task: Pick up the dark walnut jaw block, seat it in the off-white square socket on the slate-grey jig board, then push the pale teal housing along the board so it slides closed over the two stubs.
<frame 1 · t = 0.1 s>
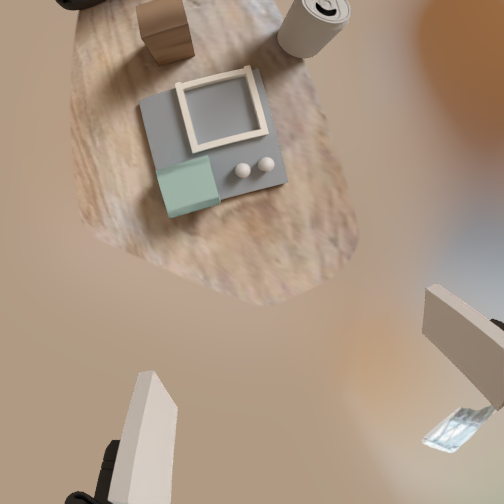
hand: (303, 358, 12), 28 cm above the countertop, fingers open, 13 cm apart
jaw block: (173, 46, 29), on the countertop
housing: (189, 185, 32), point 4 cm above the countertop, slide at 0.0 cm
jig board: (212, 138, 34), on the countertop
beverage can: (297, 41, 31), on the countertop
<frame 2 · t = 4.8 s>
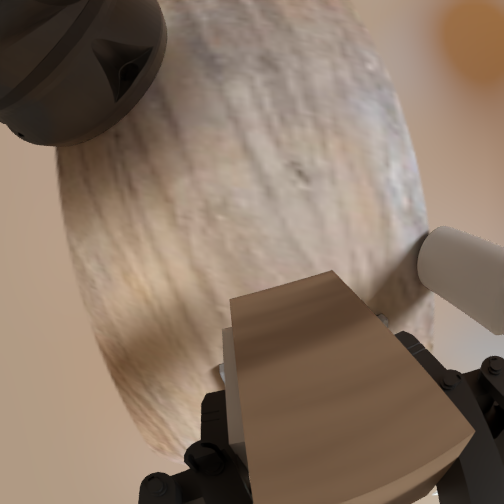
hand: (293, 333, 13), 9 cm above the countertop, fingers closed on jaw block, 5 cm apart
jaw block: (291, 327, 14), point 8 cm above the countertop, touching gripper
beverage can: (434, 254, 24), on the countertop
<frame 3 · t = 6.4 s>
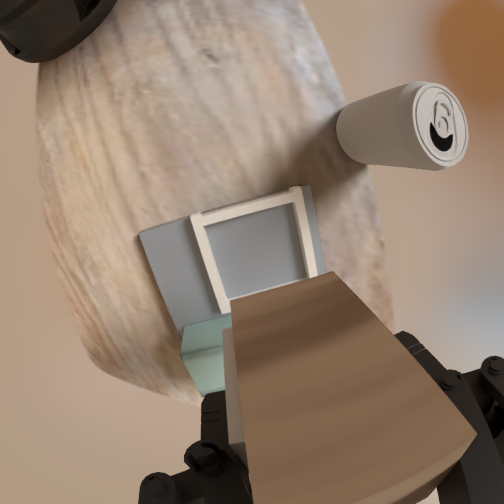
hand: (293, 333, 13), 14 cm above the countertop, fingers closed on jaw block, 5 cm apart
jaw block: (292, 329, 14), point 14 cm above the countertop, touching gripper
housing: (221, 355, 26), point 4 cm above the countertop, slide at 0.0 cm
jig board: (244, 284, 28), on the countertop
beverage can: (360, 132, 25), on the countertop
when the fingers open (3 cm above the countertop, at t = 8.2 s): jaw block drops 1 cm, resting on jig board.
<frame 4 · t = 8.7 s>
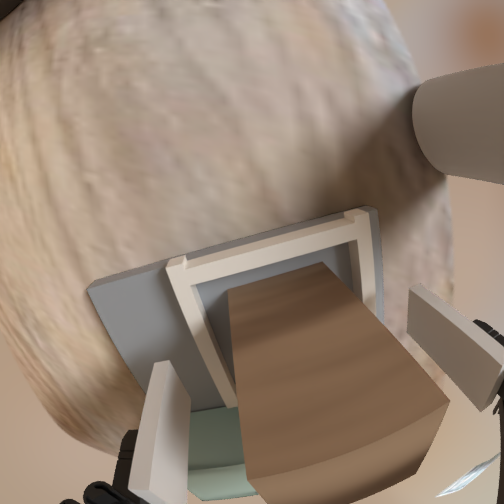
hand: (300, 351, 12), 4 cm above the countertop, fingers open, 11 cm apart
jaw block: (285, 316, 15), point 1 cm above the countertop, touching jig board
housing: (228, 456, 15), point 4 cm above the countertop, slide at 0.0 cm
jig board: (261, 359, 17), on the countertop
beverage can: (438, 126, 14), on the countertop
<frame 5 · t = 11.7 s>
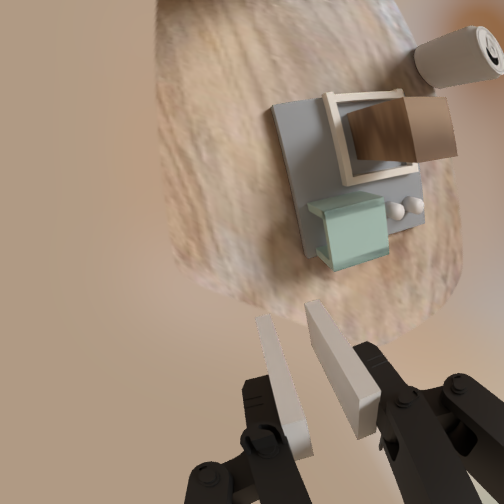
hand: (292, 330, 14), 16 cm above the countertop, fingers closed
jaw block: (372, 133, 26), point 1 cm above the countertop, touching jig board
housing: (348, 227, 26), point 4 cm above the countertop, slide at 0.0 cm
jig board: (358, 167, 28), on the countertop
beverage can: (427, 67, 25), on the countertop
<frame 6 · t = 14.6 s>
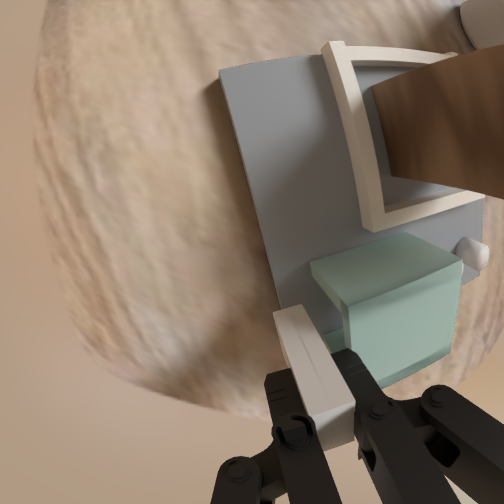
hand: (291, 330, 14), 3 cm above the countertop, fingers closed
jaw block: (415, 126, 13), point 1 cm above the countertop, touching jig board
housing: (386, 310, 13), point 4 cm above the countertop, slide at 0.9 cm, touching gripper
jig board: (389, 190, 15), on the countertop
beverage can: (477, 34, 11), on the countertop
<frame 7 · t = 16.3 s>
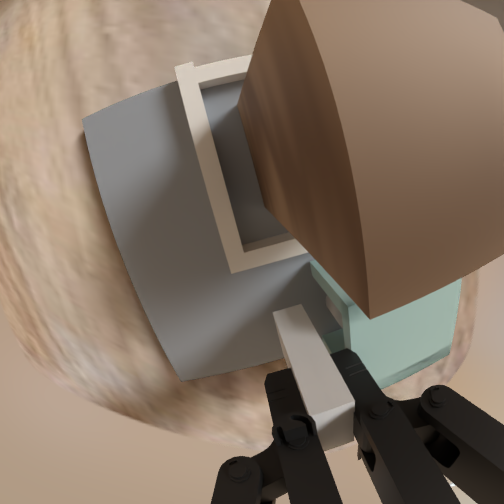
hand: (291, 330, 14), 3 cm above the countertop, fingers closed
jaw block: (302, 143, 12), point 1 cm above the countertop, touching jig board
housing: (386, 311, 13), point 4 cm above the countertop, slide at 8.0 cm, touching gripper
jig board: (275, 219, 15), on the countertop
beverage can: (428, 20, 11), on the countertop
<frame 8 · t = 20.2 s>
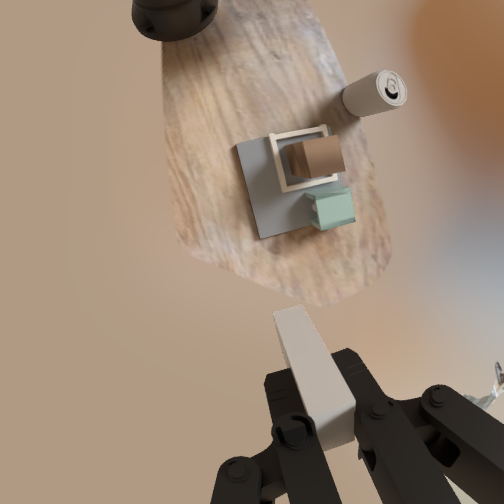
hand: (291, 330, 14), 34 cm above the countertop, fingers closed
jaw block: (302, 157, 43), point 1 cm above the countertop, touching jig board
housing: (330, 206, 44), point 4 cm above the countertop, slide at 8.0 cm
jig board: (294, 180, 46), on the countertop
beverage can: (356, 100, 42), on the countertop
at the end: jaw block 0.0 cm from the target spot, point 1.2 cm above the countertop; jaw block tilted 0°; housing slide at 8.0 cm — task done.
